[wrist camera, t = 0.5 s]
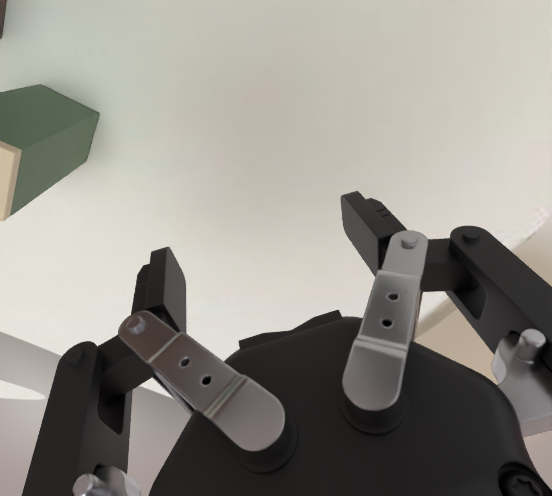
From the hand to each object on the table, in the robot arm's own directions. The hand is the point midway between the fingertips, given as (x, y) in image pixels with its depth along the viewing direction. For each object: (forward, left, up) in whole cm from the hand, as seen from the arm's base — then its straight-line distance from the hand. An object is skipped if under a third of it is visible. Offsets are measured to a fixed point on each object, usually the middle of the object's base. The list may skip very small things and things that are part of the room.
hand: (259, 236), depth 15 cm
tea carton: (+8, -16, -20) cm, 27 cm away
